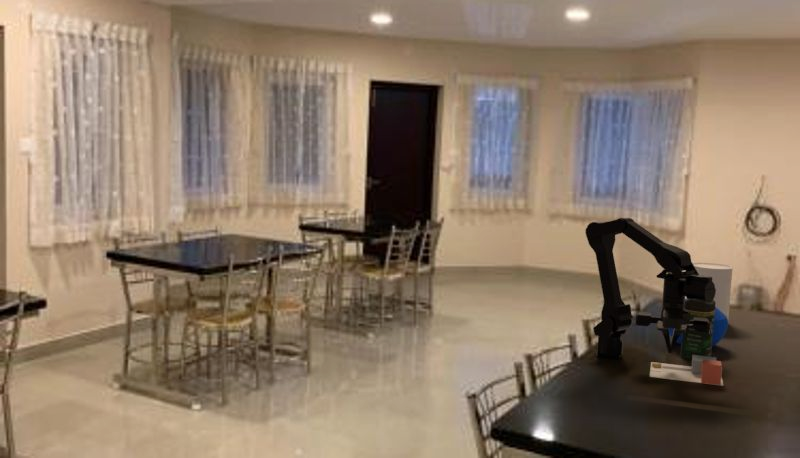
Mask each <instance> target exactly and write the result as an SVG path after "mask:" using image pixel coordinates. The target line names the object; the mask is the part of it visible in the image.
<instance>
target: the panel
mask: <svg viewBox="0 0 800 458" xmlns="http://www.w3.org/2000/svg"><path fill="white" fill-rule="evenodd" d="M649 369H650V370H649V377H650V378H657V379H665V380H672V381H681V382H691V383H698V384H702V383H701V374H695V373H692V365H691V366H689V365H681V364H673V363H663V362H662V363H661V362H653V361H651V362H650V368H649ZM722 375H723V368H722V369H721V382H720V385H719V386H722V387H723V386H724V382H723V376H722ZM704 384H707V385H710V384H709V383H704ZM713 385H715V386H718V385H717V384H712V386H713Z"/></svg>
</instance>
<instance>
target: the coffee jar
mask: <svg viewBox="0 0 800 458" xmlns="http://www.w3.org/2000/svg"><path fill="white" fill-rule="evenodd" d="M686 299H687V298H686ZM686 299H685V300H686ZM715 304H716V302H715V301H714V300H713V301H712V302H710V303H706V302H701V301H695V300H690V299H687V300H686V301H685V306H684V311H690V320H693V319H694V317H699V318H707V319H708V320H709V332H698V331H696V330H695V329H694V327H687V328H686V333H682V343H681V345H680V353H679V354H680V355H679V356H680V357H679V358H680V359H681V360H689V361H692V355H699V356H708V357H712V353H713V352H712V350H713V349H712V348H713V347H712V337H713V324H714V315H715Z"/></svg>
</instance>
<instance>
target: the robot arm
mask: <svg viewBox="0 0 800 458" xmlns="http://www.w3.org/2000/svg"><path fill="white" fill-rule="evenodd" d="M620 234H623V235H625V236H626V237H627V238H628V239H630V240H631V241H633V242H634V243H636V244H637V245H638V246H640V247H641V248H643V249H644V250H645V251H647V252H648V253H649V254H651V255H652V256H653V257H654V259H655V261H656V262H657V264H658V265H660V267H662V270H661V272H659V273H658V274H657V275H656V279H662V280H663V285H662V286H663V289H662V301H661V302H662V303H661V312H660V313H661V314H660V316H653V315H652V312H646V311H638V312H637V313H636V316H635V326H639V327H641V326H642V327H649V326H650V325H651V324H656V325H657V329H656V330H657V331H659V332H661V334H662V335H663V338H664V340H665V341H664V342H665V345H666V349H667V352H668V354H672V352H673V351H674V348H675V346H676V344H677V342H676V341H677V339H678V338H679V336H680V335H681V333H686V328H687V327H694V329H695V330H696V331H698V332H709V320H708V319H707V318H699V317H694V319H693V320H690V311H684V306H685V300H686V299H690V300H695V301H701V302H706V303H710V302H712V301H713V299H714V297H715V293H716V289H715V285H714V283H713V282H712V277H709V276H699V274H698V272H697V270H696V269H695V267H694V265H693V263H694V262H692V258H691V256H692V255H691V254H690V253H689V252H688V251H687V250H685V249H683V248H680V247H679V246H675V245H672V244H669V243H667V242H664V241H663V240H662V239H660V238H659V237H658V236H656V235H654V234H653V233H651V231H648V230H647V229H646V228H644V227H643V226H642V225H640V224H638V223H637V222H636V221H635V220H634V219H632V218H631V217H619V218H617V219H614V220H610V221H608V220H603V221H592V222H589V224H588V225H587V226H586V228H585V237H586V240H587V243H588V245H589V247H590V248H591V249H592V250H593V252H594V253H595V258H596V263H597V264H596V265H597V267H598V268H597V270H598V274H599V279H600V285H601V291H602V295H603V296H602V297H603V305H602V309H601V313H600V314H601V315H600V316H601V321H600V322H599V323H597V324H596V325H595V326H593V333H594V336H597V352H596V354H595V356H596V357H599V358H608V359H616V360H620V358H621V356H623V348H624V347H623V346H624V340H623V339H622V335H625V334H626V333H627V331H628V329H629V328H630V326H631V325H632V324H633V323H632V320H633V319H634V316H633V314H632V308H631V304H630V303H628V304H625V302H624V300H623V299H622V295H621V289H620V284H619V279H618V274H617V268H616V263H615V258H614V257H615V256H614V251H613V250H614V247H615V244H616V243H615V242H616V235H620ZM669 328H674V331H673V336H672V337H671V335H670V334H669ZM670 337H671V339H670Z"/></svg>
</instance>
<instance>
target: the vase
mask: <svg viewBox="0 0 800 458" xmlns="http://www.w3.org/2000/svg"><path fill="white" fill-rule="evenodd" d="M686 300H687V298H685V301H686ZM728 328H729V318H728V319H727V317H726V315H724V314H723V313H722V312H721V311H720V310H719V309H717V308H716V307H715V315H714V324H713V337H712V348H713V347H714V346H716V345H718V344H719V342H721V340H723V338H724V337H725V334H726V332H727V330H728ZM673 331H674V328H669V335H670V337H671V338H672V336H673ZM681 343H682V333H681V335H680V336H679V338H678V339H677V341H676V344H678V345H679V344H680V345H679V346H681Z"/></svg>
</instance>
